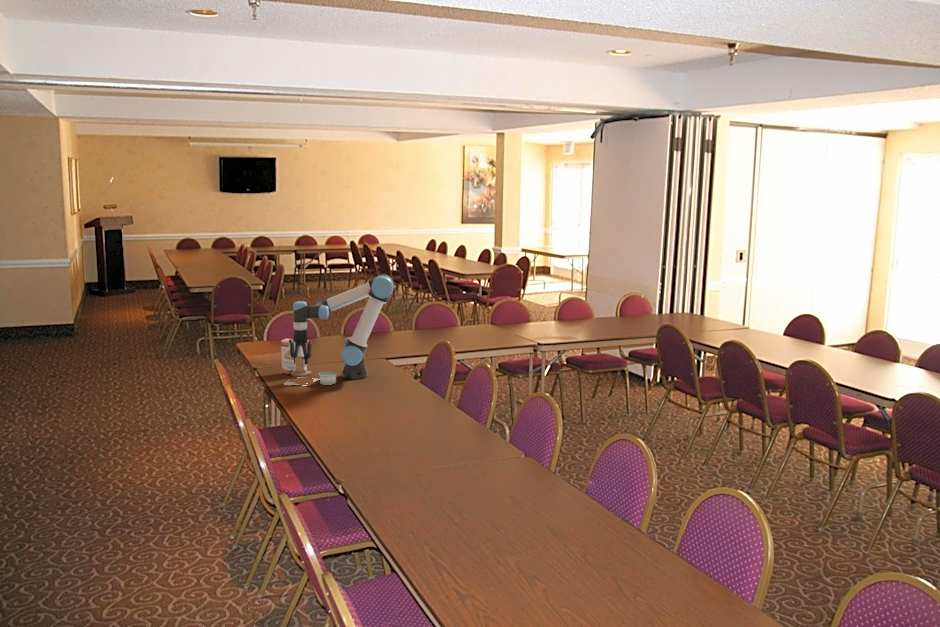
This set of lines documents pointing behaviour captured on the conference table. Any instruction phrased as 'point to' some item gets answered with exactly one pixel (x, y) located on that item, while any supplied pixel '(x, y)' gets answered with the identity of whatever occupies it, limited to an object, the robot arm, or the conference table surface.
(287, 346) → the cracker box
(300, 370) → the lid
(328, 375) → the bowl
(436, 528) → the conference table surface
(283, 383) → the mat
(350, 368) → the robot arm
